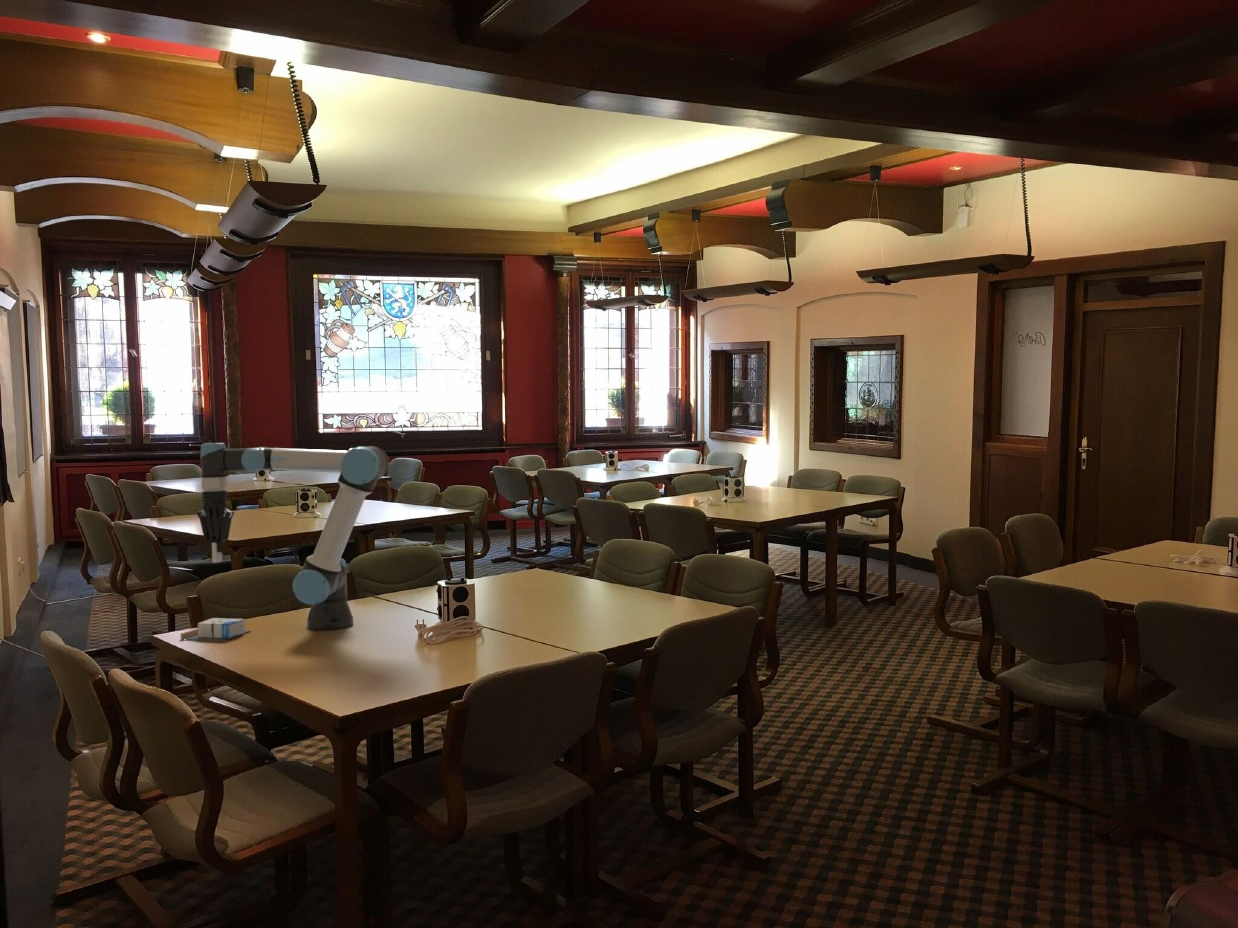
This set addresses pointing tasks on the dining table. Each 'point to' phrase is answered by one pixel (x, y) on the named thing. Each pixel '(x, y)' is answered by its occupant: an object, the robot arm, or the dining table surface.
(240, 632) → the ink box
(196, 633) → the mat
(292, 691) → the dining table surface
